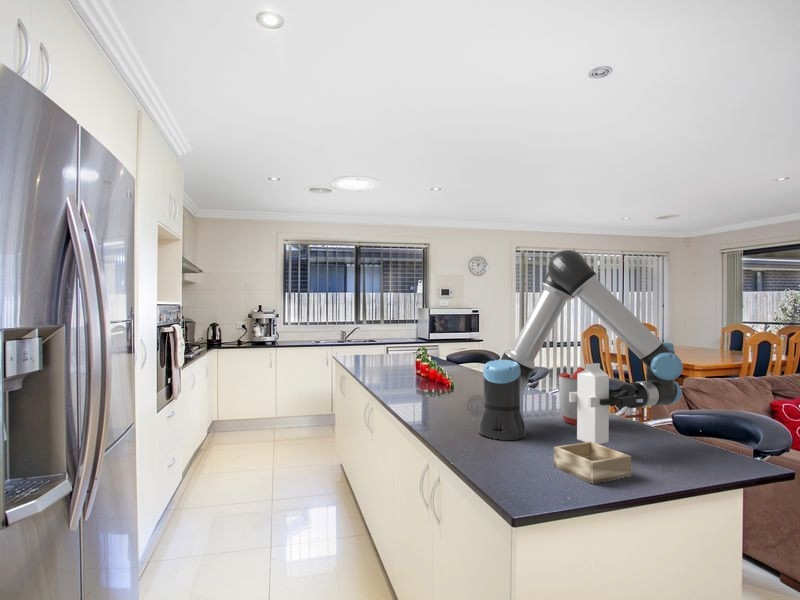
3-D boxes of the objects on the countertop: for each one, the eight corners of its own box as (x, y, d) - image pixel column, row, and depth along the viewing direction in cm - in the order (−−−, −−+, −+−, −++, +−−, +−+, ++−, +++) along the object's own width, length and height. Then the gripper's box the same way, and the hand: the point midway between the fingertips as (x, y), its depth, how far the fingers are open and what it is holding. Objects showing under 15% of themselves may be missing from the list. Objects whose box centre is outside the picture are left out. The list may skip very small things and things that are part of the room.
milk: (608, 442, 123) (609, 364, 123) (594, 445, 120) (595, 365, 120) (590, 436, 128) (591, 361, 129) (576, 439, 125) (577, 362, 126)
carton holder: (554, 466, 113) (554, 447, 113) (590, 460, 117) (590, 441, 118) (592, 484, 101) (592, 462, 101) (631, 476, 106) (631, 456, 106)
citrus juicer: (594, 416, 166) (594, 364, 166) (612, 429, 148) (612, 370, 149) (552, 415, 167) (552, 363, 168) (565, 427, 150) (565, 369, 150)
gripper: (668, 414, 122) (608, 421, 113) (610, 400, 140) (554, 405, 131) (668, 387, 122) (608, 392, 113) (610, 377, 140) (555, 380, 131)
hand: (579, 399), depth 122 cm, fingers closed on milk, 6 cm apart
